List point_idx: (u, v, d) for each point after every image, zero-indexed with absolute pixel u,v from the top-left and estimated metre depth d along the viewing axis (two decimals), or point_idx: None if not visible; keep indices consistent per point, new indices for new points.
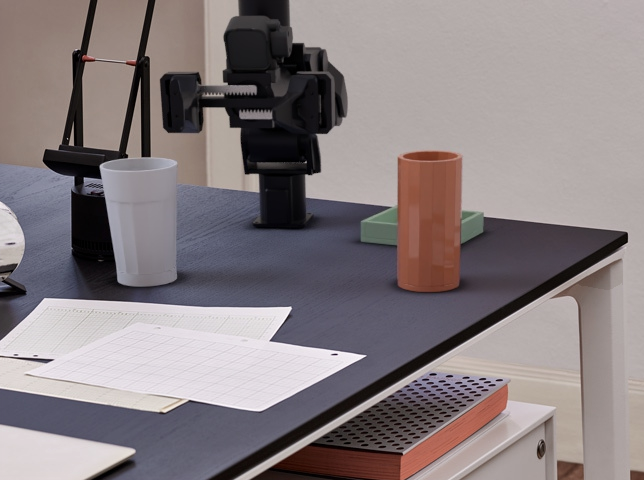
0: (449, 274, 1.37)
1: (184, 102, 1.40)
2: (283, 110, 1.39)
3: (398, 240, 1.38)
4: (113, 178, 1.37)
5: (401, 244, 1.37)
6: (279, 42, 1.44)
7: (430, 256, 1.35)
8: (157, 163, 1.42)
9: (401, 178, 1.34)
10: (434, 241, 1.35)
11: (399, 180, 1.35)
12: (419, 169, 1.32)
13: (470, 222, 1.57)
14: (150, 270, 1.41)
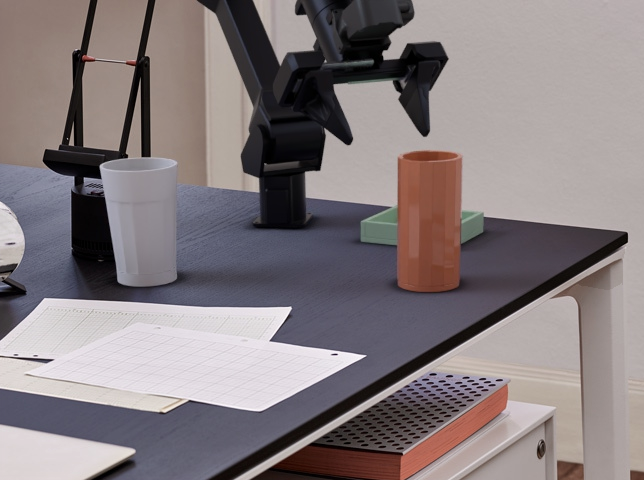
0: (449, 274, 1.37)
1: (340, 121, 1.38)
2: None
3: (398, 240, 1.38)
4: (113, 178, 1.37)
5: (401, 244, 1.37)
6: (404, 21, 1.40)
7: (430, 256, 1.35)
8: (157, 162, 1.42)
9: (401, 178, 1.34)
10: (434, 241, 1.35)
11: (399, 180, 1.35)
12: (419, 169, 1.32)
13: (470, 222, 1.57)
14: (150, 270, 1.41)
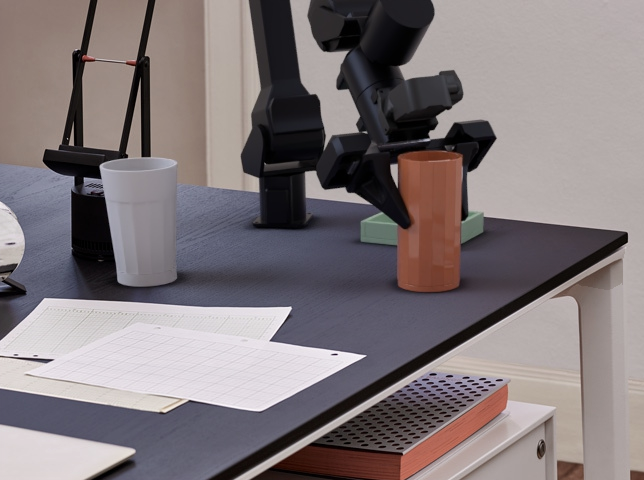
0: (449, 274, 1.37)
1: (397, 204, 1.34)
2: None
3: (398, 240, 1.37)
4: (113, 178, 1.37)
5: (401, 244, 1.37)
6: (453, 102, 1.35)
7: (430, 256, 1.35)
8: (157, 162, 1.42)
9: (401, 178, 1.34)
10: (434, 241, 1.35)
11: (399, 180, 1.35)
12: (419, 169, 1.32)
13: (470, 222, 1.57)
14: (150, 270, 1.41)
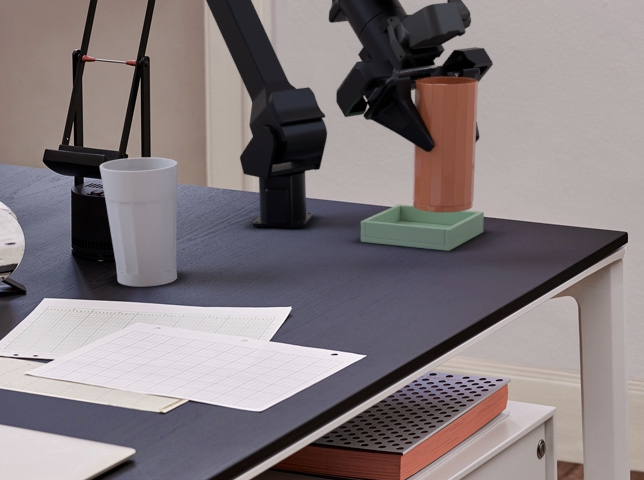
0: (468, 194, 1.44)
1: (421, 128, 1.40)
2: None
3: (417, 164, 1.43)
4: (113, 178, 1.37)
5: (422, 167, 1.42)
6: None
7: (452, 177, 1.42)
8: (157, 162, 1.42)
9: (423, 102, 1.39)
10: (456, 162, 1.41)
11: (418, 104, 1.40)
12: (444, 92, 1.38)
13: (470, 222, 1.57)
14: (150, 270, 1.41)
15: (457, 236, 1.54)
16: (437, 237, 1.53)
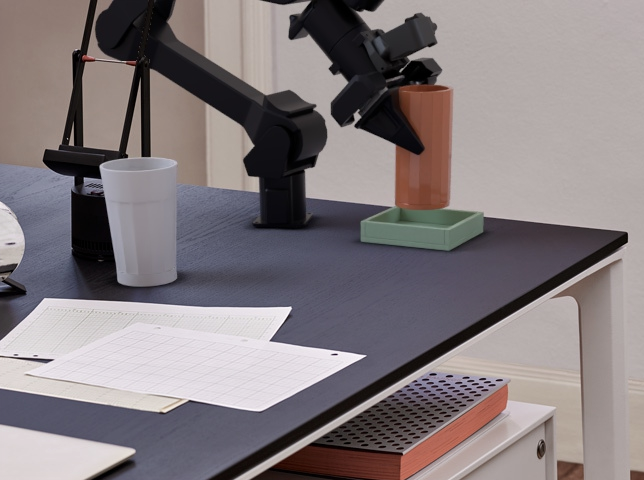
0: (449, 191, 1.56)
1: (412, 133, 1.50)
2: None
3: (403, 166, 1.54)
4: (113, 178, 1.37)
5: (410, 169, 1.53)
6: None
7: (439, 176, 1.54)
8: (157, 162, 1.42)
9: (410, 109, 1.50)
10: (442, 163, 1.53)
11: (405, 111, 1.51)
12: (432, 98, 1.49)
13: (470, 222, 1.57)
14: (150, 270, 1.41)
15: (457, 236, 1.54)
16: (437, 237, 1.53)
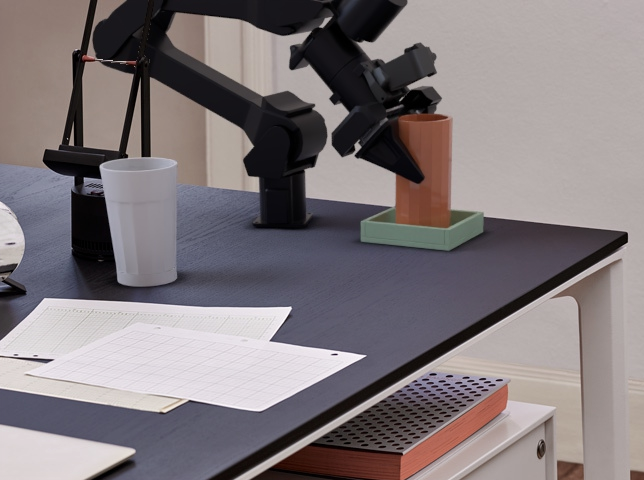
0: (449, 219, 1.57)
1: (412, 162, 1.52)
2: None
3: (404, 195, 1.55)
4: (113, 178, 1.37)
5: (410, 198, 1.54)
6: None
7: (439, 204, 1.55)
8: (157, 162, 1.42)
9: (410, 139, 1.52)
10: (442, 191, 1.54)
11: (404, 141, 1.52)
12: (431, 128, 1.51)
13: (470, 222, 1.57)
14: (150, 270, 1.41)
15: (457, 236, 1.54)
16: (437, 237, 1.53)
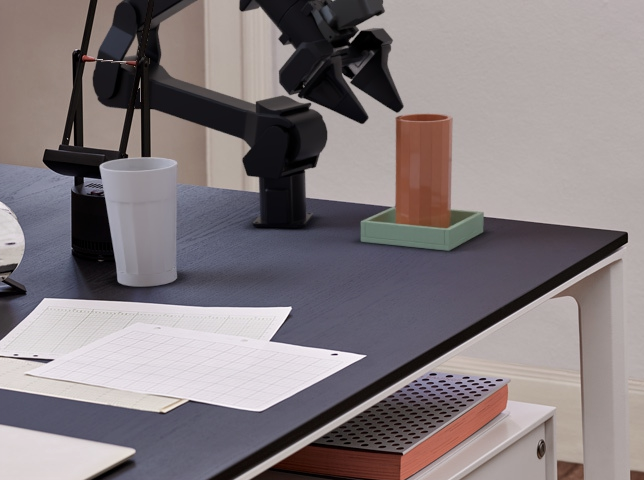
0: (449, 219, 1.57)
1: (356, 102, 1.51)
2: None
3: (404, 195, 1.55)
4: (113, 178, 1.37)
5: (410, 198, 1.54)
6: None
7: (439, 204, 1.55)
8: (157, 162, 1.42)
9: (410, 139, 1.52)
10: (442, 191, 1.54)
11: (404, 141, 1.52)
12: (431, 128, 1.51)
13: (470, 222, 1.57)
14: (150, 270, 1.41)
15: (457, 236, 1.54)
16: (437, 237, 1.53)
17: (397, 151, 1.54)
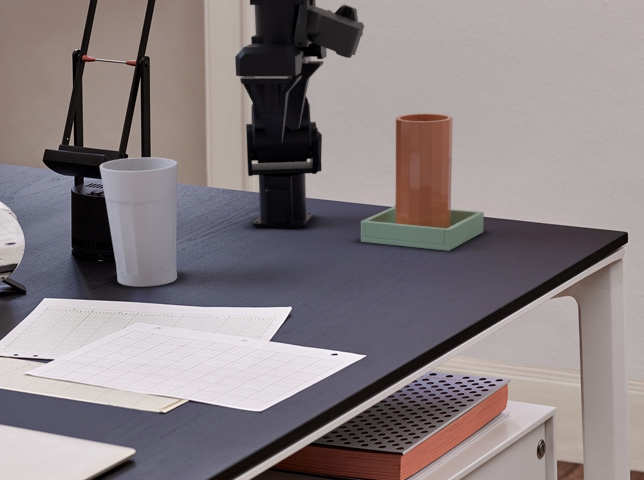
0: (449, 219, 1.57)
1: (283, 124, 1.41)
2: None
3: (404, 195, 1.55)
4: (113, 178, 1.37)
5: (410, 198, 1.54)
6: None
7: (439, 204, 1.55)
8: (157, 162, 1.42)
9: (410, 139, 1.52)
10: (442, 191, 1.54)
11: (404, 141, 1.52)
12: (431, 128, 1.51)
13: (470, 222, 1.57)
14: (150, 270, 1.41)
15: (457, 236, 1.54)
16: (437, 237, 1.53)
17: (397, 151, 1.54)
